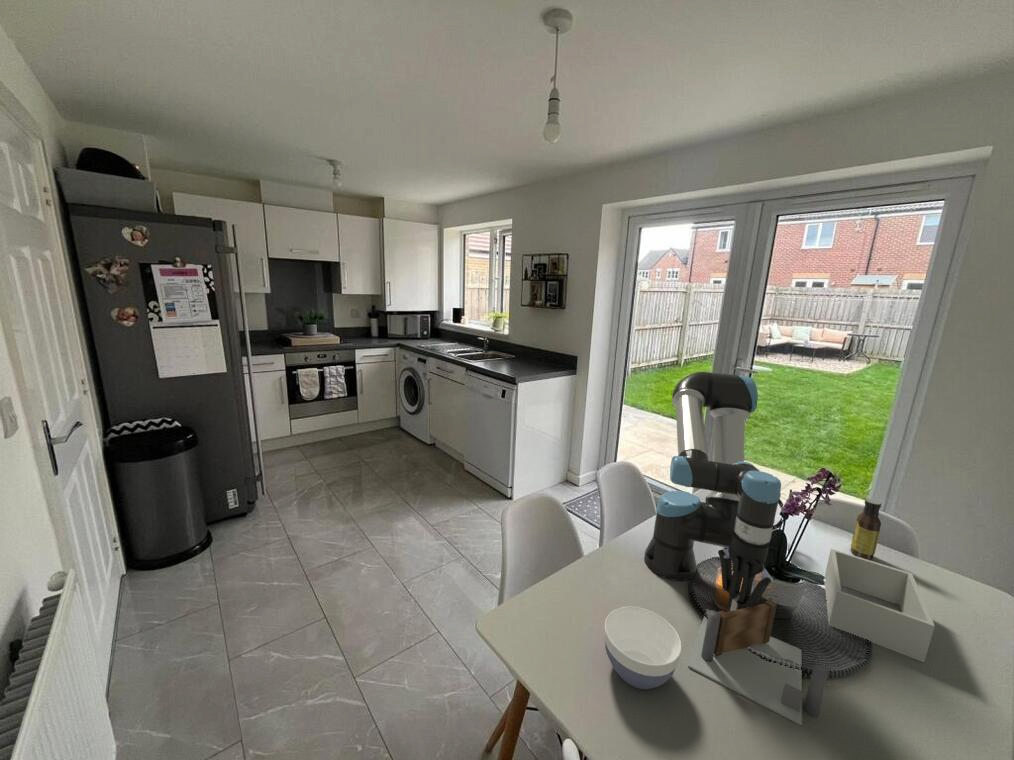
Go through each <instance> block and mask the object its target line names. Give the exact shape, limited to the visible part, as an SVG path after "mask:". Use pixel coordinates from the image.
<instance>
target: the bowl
mask: <svg viewBox="0 0 1014 760" xmlns="http://www.w3.org/2000/svg"><path fill="white" fill-rule="evenodd" d="M603 635H604V644H605V645H604V647H605V651H606V655H607V658H608V660H609V661H610V664H611V666H612V668H613V669H614V670H615V672H616V673H617V674H618V675H619V676H620V678H621V679H622V680H623V681H624V682H625V683H626V684H629V686H632V687H634V688H636V689H640V690H650V689H655V688H657V687H660V686H662V685H663V684H666V682H667V681H669V680H670V679H671V678H672V677H673V675H674V673H675V670H676V668H677V667H678V664H679V662H680V658H681V653H682V647H683V646H682V642H681V638H680V636H679V633H678V632H677V631H676V629H675V628H674V627H673V625H672V624H670V622H668V621H667V619H665V618H664V617H662V616H660V615H659V614H658V613H656V612H653V611H651V610H649V609H645V608H642V607H638V606H622V607H618V608H616V609H613V610H611V612H610V613H609V614H608V615H607V617H606V618H605V621H604V634H603Z"/></svg>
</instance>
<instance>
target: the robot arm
mask: <svg viewBox="0 0 1014 760" xmlns="http://www.w3.org/2000/svg"><path fill="white" fill-rule="evenodd" d="M757 387H758V386H757V384H756V382H755V381H754V380H753V378H752V377H751V376H746V375H740V374H730V373H720V372H719V373H718V372H708V371H698V372H693V373H689V374H688V375H686V376H685V377H683V378H682V379H681V380H680V381H679V382H678V383H677V384H676V385H675V387H674V389H673V392H672V398H671V399H672V400H671V402H672V405H673V407H674V408H675V410H676V411H675V412H676V413H675V414H676V417H675V418H676V419H675V420H676V436H677V437H676V438H677V439H676V440H677V441H676V444H677V455H674V456H672V457H671V461H670V468H669V471H670V472H669V480H670V482H671V483H672V484H674V485H679V486H682V487H686V488H695V489H699V490H708V491H710V492H709V494H707V495H706V496H705V500H704V501H705V502H702V501H701V499H700V498H699V496H698V495H696V494H694V493H690V492H689V491H684V490H670V491H667V492H665V493H662V494H661V495H660V496H659V498H658V501H657V504H656V507H655V513H656V514H655V520H654V528H653V533H652V537H651V540H650V541H649V543H648V545H647V547H646V548H645V551H644V558H643V560H644V563H645V564H646V566H647V567H648V568H649V570H651V571H652V572H653V573H655V574H657V575H658V576H660V577H663V578H665V579H668V580H672V581H689V580H691V579H693V578H694V577H695V576H694V575H696V573H697V562H696V555H695V551H694V543H695V542H697V543H703V544H707V545H712V546H718V547H721V549H719V550H718V551H717V553H718V556H719V559H720V567H721V568H720V569H721V587H722V590H723V591H724V592H727V594H728V600H727V601H728V602H727V608H729V609H730V611H734V610H738V609H742V608H747V607H751V606H755V605H758V602H759V600H760V599H761V598H762V596H763V595H764V593H765V591H767V588H768V586H769V585H770V584H771V583H773V582H775V581H776V576H775V575H772V574H769V572H768V570H767V564H766V560H767V557H768V552H769V547H770V542H771V538H772V535H773V534H772V533H773V531H772V528H773V525H775V521H774V519H775V518H776V514H777V509H778V506H779V504H778V502H779V499H780V500H781V490H782V481H781V480H780V479H779V478H778V477H777V476H774V475H773V474H771V473H768V472H765V471H761V470H760V469H758V468H757V467H756V466H755V465H754V464H752V463H750V462H748V461H745V426H746V424H745V421H746V420H747V419H749V418H750V417H751V413H754V412H755V411H756V409H757V407H758V401H759V400H758V398H759V397H758V396H759V395H758V394H759V393H758V388H757ZM703 408H709V415H710V416H711V417H712V418H713V419H714V423H713V442H712V444H713V446H712V447H713V448H712V461H711V460H709V455H708V447H707V446H708V445H707V438H706V437H707V436H706V430H705V429H706V428H705V421H704V413H703ZM775 520H776V519H775ZM758 574H761V575H760V577H759V581H758V582H757V584H756V585H755V587H754V589H753V591H752V588H753V585H754V579H755V578H756V576H757V575H758ZM693 576H694V577H693ZM692 577H693V578H692ZM690 578H691V579H690Z"/></svg>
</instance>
